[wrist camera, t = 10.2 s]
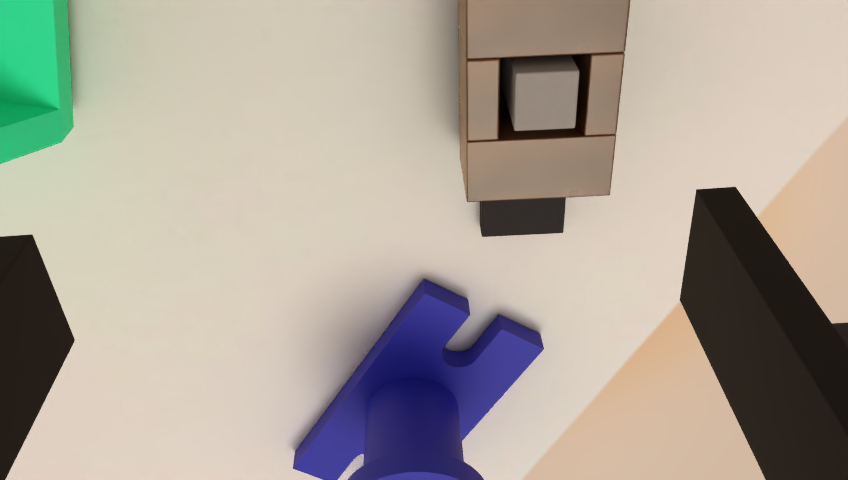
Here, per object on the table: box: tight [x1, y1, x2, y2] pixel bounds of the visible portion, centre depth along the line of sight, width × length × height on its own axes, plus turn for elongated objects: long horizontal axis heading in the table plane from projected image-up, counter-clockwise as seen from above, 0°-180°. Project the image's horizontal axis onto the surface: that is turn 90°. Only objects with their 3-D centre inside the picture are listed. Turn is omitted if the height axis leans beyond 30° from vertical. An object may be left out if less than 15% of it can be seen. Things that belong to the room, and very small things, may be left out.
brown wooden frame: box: [458, 0, 630, 202], centre depth 33 cm, size 9×6×4 cm, turn 2°
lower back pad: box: [480, 55, 579, 237], centre depth 33 cm, size 18×4×6 cm, turn 2°
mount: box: [293, 279, 544, 480], centre depth 43 cm, size 15×8×9 cm, turn 149°
